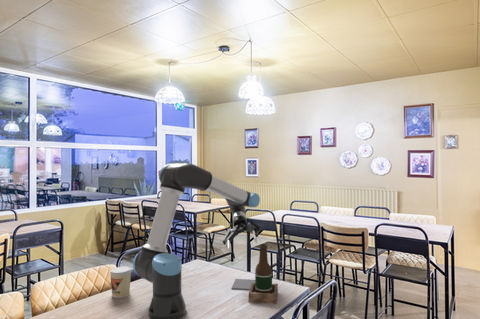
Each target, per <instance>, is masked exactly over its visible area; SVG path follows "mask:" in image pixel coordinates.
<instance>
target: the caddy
mask: <svg viewBox="0 0 480 319" xmlns="http://www.w3.org/2000/svg"><path fill="white" fill-rule="evenodd" d="M278 286H279V284H278V283H272V294H271V293H255V283H252V284H251V287H250V290H248V303H254V304H269V305H270V304H271V305H277V304H278V295H279V292H278V291H279V290H278V289H279V288H278Z"/></svg>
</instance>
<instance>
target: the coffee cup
mask: <svg viewBox="0 0 480 319" xmlns="http://www.w3.org/2000/svg"><path fill="white" fill-rule="evenodd" d="M109 274H110V284H111V285H110V286H111V296H112V298H115V299H122V298H123V299H124V298H125V297H128V296H129V295H130V291H131V277H132V276H131V274H132V269H131V267H130V266H126V265H125V266H117V267H114V268H112V269H111V270H110V271H109Z"/></svg>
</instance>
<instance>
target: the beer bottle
mask: <svg viewBox="0 0 480 319" xmlns="http://www.w3.org/2000/svg"><path fill="white" fill-rule="evenodd" d="M258 247H259V258H258V263H257V264H256V267H255V270H254V271H255V274H254V280H255V292H254V293H271V294H273V293H272V284H273V271H272V267H271V265H270V263H269V260H268V246H267V245H266V244H260V245H259V246H258Z"/></svg>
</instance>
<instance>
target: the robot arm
mask: <svg viewBox="0 0 480 319" xmlns="http://www.w3.org/2000/svg"><path fill="white" fill-rule="evenodd" d="M158 174H159V175H158V178H159V182H160V185H159V189H160V191H161V194H160V197H159V201H158V204H157V207H156V210H155V214H154V217H153V221H152V223H151V228H150V231H149V235H148V238H147V242H146V243H145V244H143V245H142V246H141V249H140V251H138V253H136V255H135V256H134V257H133V261H132V269H133V271H134V273H135V274H136V275H137V276H138V277H139V278H141V279H142V280H143V279H144V280H145V281H147V282H148V283H149V282H150V283H151V284H152V298H151V302H150V304H149V307H148V317H149V319H180V318H182V317H184V316H185V314H186V311H187V305H186V301H185V299H184V297H183V293H182V268H183V266H182V260H181V257H180V256H179V255H177V254H175V253H169V251H168V249H167V244H168V241H169V240H168V239H169V237H170V232H171V229H172V226H173V221H174V217H175V215H176V210H177V207H178V203H179V200H180V197H181V196H182V195H184V194H185V190H186V189H194V190H198V191H201V192H205V191H207V192H209V193H212V194H214V195H217V196H220V197H222V198H224V200H225V201H226V203H227V205H228V207H229V209H230V211H231V215H232V226H233V227H232V228H227V231H226V233H225V235H224V237H223V239H222V240H221V242H222V244H223V245H224V246H225V247H226V248H227V250H228V252H229V253H232V244H231V242H232V241H233V240H234V239H235V237H237V236H238V235H239V234H241V233H244V232H249V233H252V235H253V239H254V242H255V244H256V243H257V244H258V237H259V233H260V232H262V230H261V227H260V226H259V225H258V224H256V223H255V222H253V220H252V219H250V220H249V222H248V221H247V220H248V219H247V214H246V212H247V211H246V207H248V208H257V207H258V206H259V205H260V202H261V198H260V195H259V194H258V193H255V192H250V191H248V190H245V189H243V188H241V187H238V186H236V185H234V184H232V183H231V182H227V181H225V180H223V179H221V178H219V177H217V176H214V175H213V174H212V172H211V171H210V170H209V171H208V170H206V169H204V168H203V167H201V166H198V165H196V164H193V163H189V162H169V163H166V164H165V165H163V166H162V167H161V169H160V171H159V173H158Z"/></svg>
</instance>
